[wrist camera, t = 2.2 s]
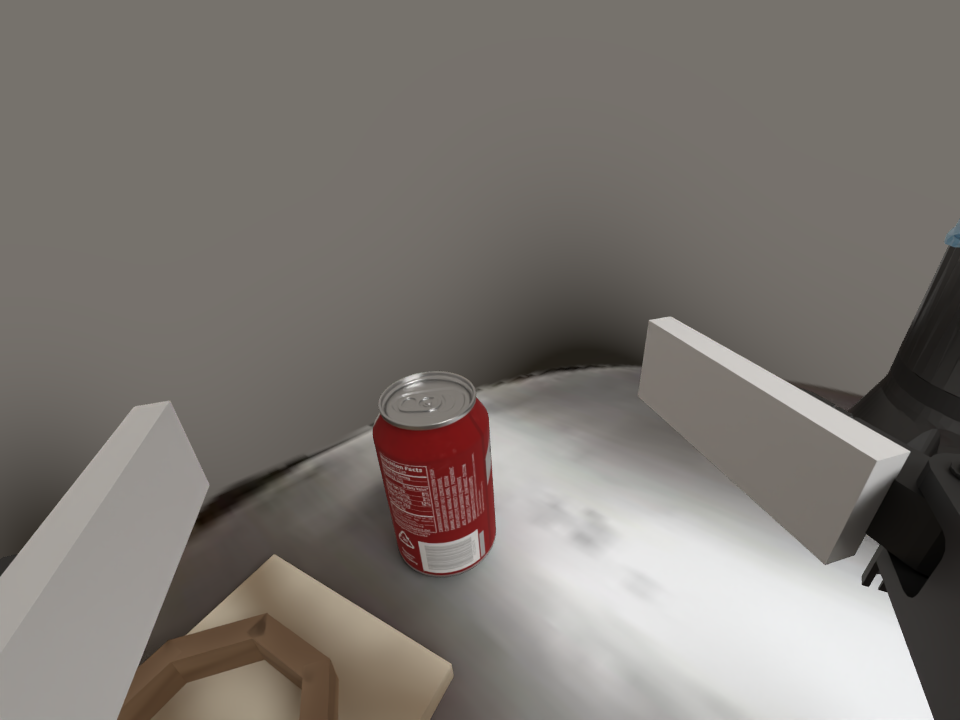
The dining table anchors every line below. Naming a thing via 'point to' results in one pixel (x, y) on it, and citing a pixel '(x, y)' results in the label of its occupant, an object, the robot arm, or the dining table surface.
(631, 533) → the dining table surface
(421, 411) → the soda can
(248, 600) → the ring board
